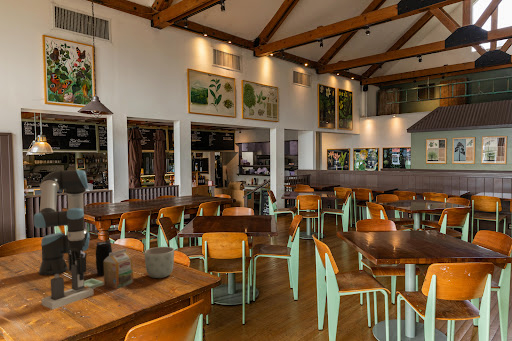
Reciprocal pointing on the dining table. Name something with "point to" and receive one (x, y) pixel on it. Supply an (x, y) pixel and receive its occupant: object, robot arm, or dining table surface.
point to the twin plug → (57, 287)
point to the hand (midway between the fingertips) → (78, 285)
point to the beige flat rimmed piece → (67, 297)
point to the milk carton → (118, 269)
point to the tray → (93, 283)
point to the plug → (75, 277)
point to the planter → (159, 261)
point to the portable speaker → (102, 255)
